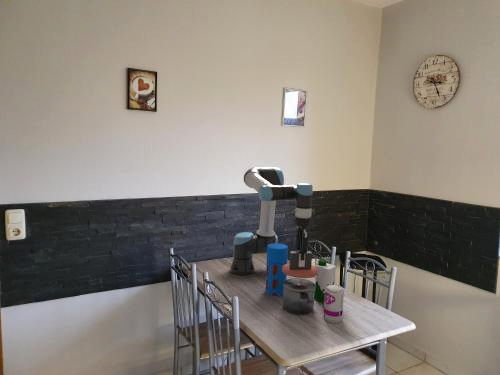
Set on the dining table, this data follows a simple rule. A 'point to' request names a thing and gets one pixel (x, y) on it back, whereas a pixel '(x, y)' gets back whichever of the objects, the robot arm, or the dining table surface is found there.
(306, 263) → the lid
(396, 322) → the dining table surface
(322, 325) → the dining table surface
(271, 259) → the thermos
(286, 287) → the pot
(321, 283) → the milk carton
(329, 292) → the supplement can
